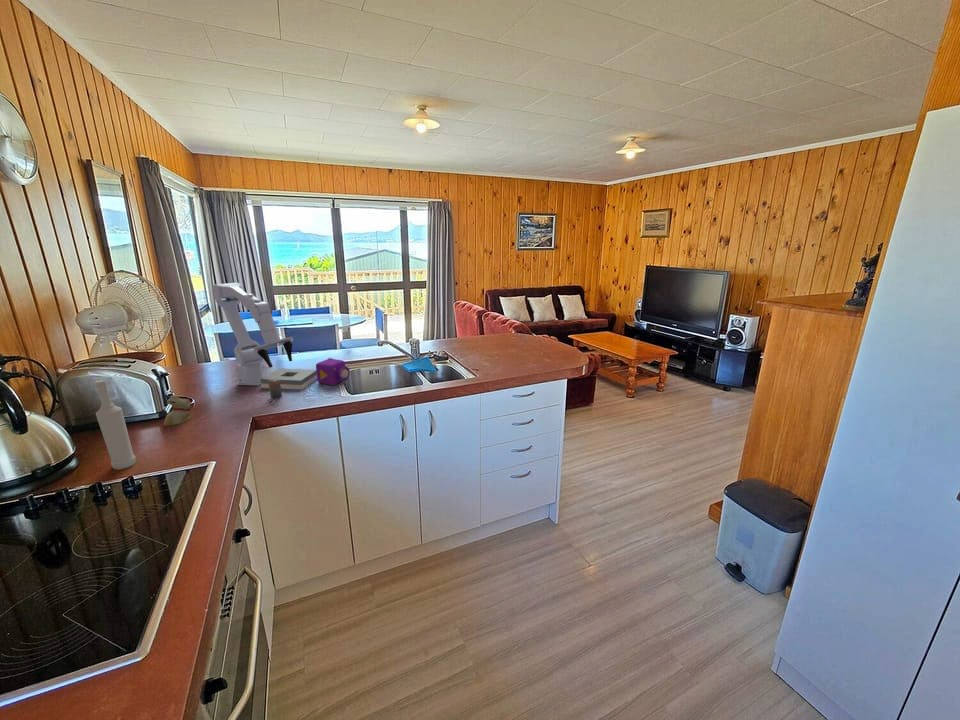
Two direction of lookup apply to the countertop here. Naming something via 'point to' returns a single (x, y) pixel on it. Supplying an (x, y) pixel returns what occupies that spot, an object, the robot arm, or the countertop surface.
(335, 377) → the toy camera
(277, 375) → the white flat box
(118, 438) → the bottle
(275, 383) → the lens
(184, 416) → the chocolate bunny
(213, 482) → the countertop surface
